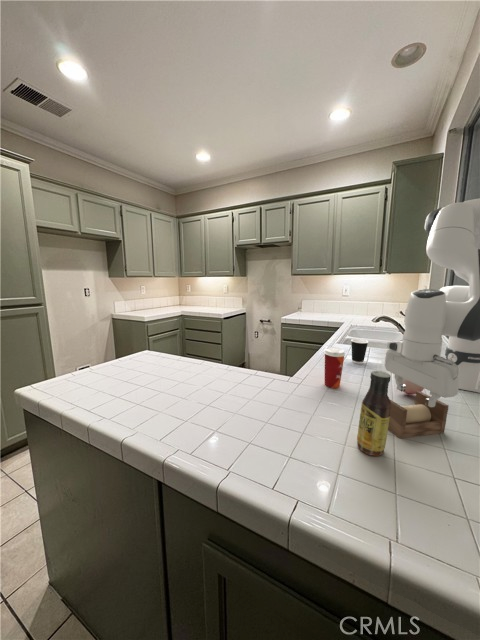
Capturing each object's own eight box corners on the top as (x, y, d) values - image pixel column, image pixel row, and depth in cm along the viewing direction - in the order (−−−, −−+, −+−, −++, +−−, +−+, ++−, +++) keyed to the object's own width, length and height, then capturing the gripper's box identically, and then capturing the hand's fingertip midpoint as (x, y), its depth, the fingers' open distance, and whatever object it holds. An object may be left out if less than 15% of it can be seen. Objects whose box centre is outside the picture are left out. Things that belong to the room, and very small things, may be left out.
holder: (416, 415, 81) (419, 391, 80) (444, 432, 73) (448, 405, 71) (375, 420, 78) (378, 394, 77) (399, 438, 70) (403, 410, 68)
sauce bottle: (351, 441, 68) (358, 367, 65) (374, 441, 68) (383, 367, 65) (365, 459, 61) (374, 378, 58) (391, 458, 62) (401, 377, 59)
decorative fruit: (397, 398, 93) (400, 370, 91) (392, 388, 101) (395, 363, 99) (428, 402, 90) (432, 374, 89) (420, 392, 98) (424, 366, 96)
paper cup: (344, 390, 99) (347, 354, 96) (322, 388, 100) (325, 352, 98) (340, 382, 106) (343, 348, 104) (320, 380, 108) (323, 346, 105)
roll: (415, 416, 79) (417, 401, 78) (430, 426, 74) (432, 409, 73) (388, 420, 77) (390, 403, 76) (402, 429, 72) (404, 412, 71)
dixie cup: (369, 363, 130) (372, 341, 128) (359, 365, 126) (362, 343, 124) (355, 358, 137) (357, 338, 135) (345, 361, 132) (347, 339, 131)
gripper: (470, 361, 62) (461, 415, 65) (400, 340, 82) (395, 382, 84) (448, 363, 61) (440, 418, 63) (383, 341, 81) (378, 384, 83)
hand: (414, 397), depth 74 cm, fingers open, 8 cm apart
